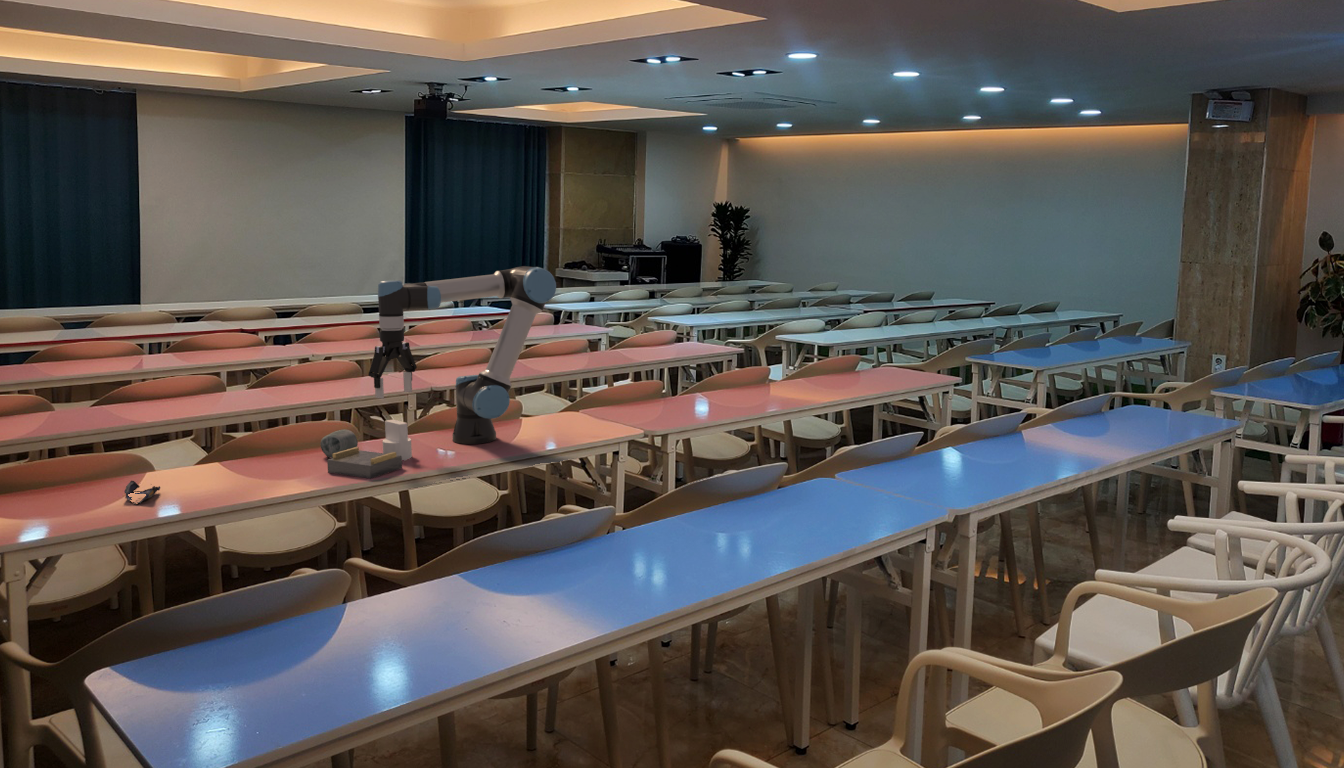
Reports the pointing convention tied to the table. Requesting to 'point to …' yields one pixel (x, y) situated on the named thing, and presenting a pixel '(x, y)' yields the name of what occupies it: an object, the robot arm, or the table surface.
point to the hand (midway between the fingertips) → (394, 395)
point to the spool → (338, 442)
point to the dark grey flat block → (363, 463)
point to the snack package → (134, 486)
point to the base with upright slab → (397, 439)
